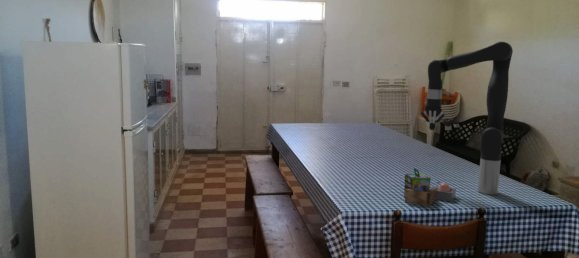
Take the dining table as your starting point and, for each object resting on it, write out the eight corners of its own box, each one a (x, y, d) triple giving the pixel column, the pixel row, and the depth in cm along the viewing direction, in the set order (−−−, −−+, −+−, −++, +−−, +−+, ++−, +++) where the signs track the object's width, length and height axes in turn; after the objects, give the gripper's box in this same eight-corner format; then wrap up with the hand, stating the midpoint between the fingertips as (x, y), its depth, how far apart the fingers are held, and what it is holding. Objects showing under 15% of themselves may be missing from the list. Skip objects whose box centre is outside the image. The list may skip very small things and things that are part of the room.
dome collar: (455, 196, 209) (455, 188, 208) (451, 201, 201) (452, 193, 201) (436, 193, 213) (436, 185, 213) (431, 198, 206) (432, 190, 205)
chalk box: (429, 202, 200) (432, 171, 198) (411, 202, 199) (413, 171, 197) (421, 196, 209) (423, 166, 207) (403, 196, 208) (405, 166, 206)
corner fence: (435, 200, 203) (436, 187, 202) (429, 206, 193) (430, 193, 192) (411, 196, 209) (412, 184, 208) (404, 201, 199) (405, 189, 198)
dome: (450, 195, 208) (451, 183, 207) (448, 198, 203) (449, 185, 203) (438, 193, 211) (439, 181, 210) (436, 196, 206) (437, 183, 205)
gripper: (448, 98, 228) (446, 130, 231) (423, 96, 235) (421, 128, 238) (445, 99, 222) (443, 132, 225) (420, 97, 229) (417, 129, 231)
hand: (432, 130), depth 231 cm, fingers closed
